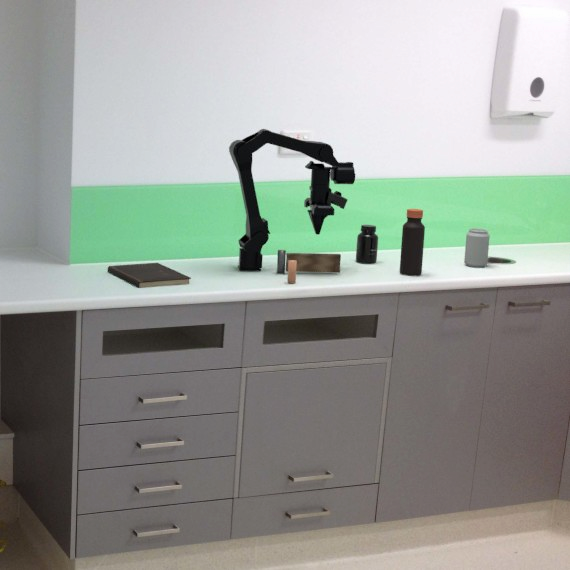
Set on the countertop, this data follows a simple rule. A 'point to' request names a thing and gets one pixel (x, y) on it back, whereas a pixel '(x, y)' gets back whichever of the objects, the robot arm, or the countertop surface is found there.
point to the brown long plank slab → (315, 262)
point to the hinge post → (281, 262)
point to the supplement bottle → (367, 245)
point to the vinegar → (412, 244)
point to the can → (476, 248)
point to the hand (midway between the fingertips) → (317, 234)
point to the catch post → (292, 271)
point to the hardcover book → (148, 275)
